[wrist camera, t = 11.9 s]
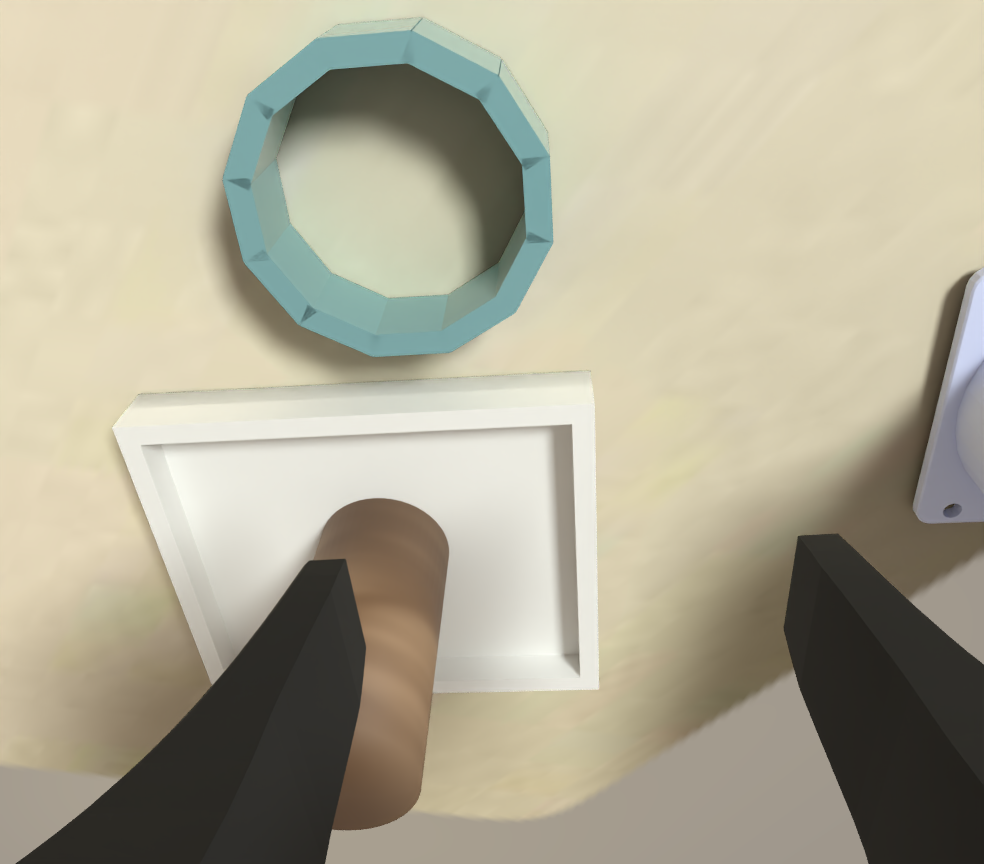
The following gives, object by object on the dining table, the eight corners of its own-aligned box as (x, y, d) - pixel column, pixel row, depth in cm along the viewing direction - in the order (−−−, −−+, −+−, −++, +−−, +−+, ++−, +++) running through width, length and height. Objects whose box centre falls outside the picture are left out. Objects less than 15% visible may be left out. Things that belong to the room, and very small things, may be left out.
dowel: (441, 494, 24) (408, 720, 18) (455, 594, 27) (431, 829, 20) (309, 501, 25) (227, 724, 18) (333, 598, 27) (269, 831, 20)
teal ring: (542, 6, 18) (543, 18, 16) (555, 309, 22) (557, 346, 20) (222, 34, 19) (189, 49, 17) (290, 324, 22) (268, 362, 21)
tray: (590, 370, 23) (594, 403, 21) (595, 648, 29) (599, 689, 27) (138, 394, 24) (111, 427, 22) (232, 658, 30) (217, 698, 28)
